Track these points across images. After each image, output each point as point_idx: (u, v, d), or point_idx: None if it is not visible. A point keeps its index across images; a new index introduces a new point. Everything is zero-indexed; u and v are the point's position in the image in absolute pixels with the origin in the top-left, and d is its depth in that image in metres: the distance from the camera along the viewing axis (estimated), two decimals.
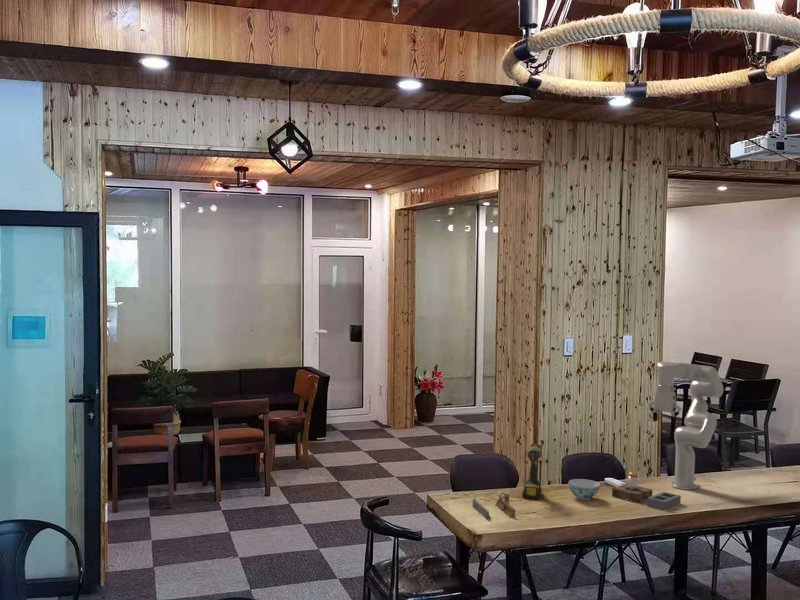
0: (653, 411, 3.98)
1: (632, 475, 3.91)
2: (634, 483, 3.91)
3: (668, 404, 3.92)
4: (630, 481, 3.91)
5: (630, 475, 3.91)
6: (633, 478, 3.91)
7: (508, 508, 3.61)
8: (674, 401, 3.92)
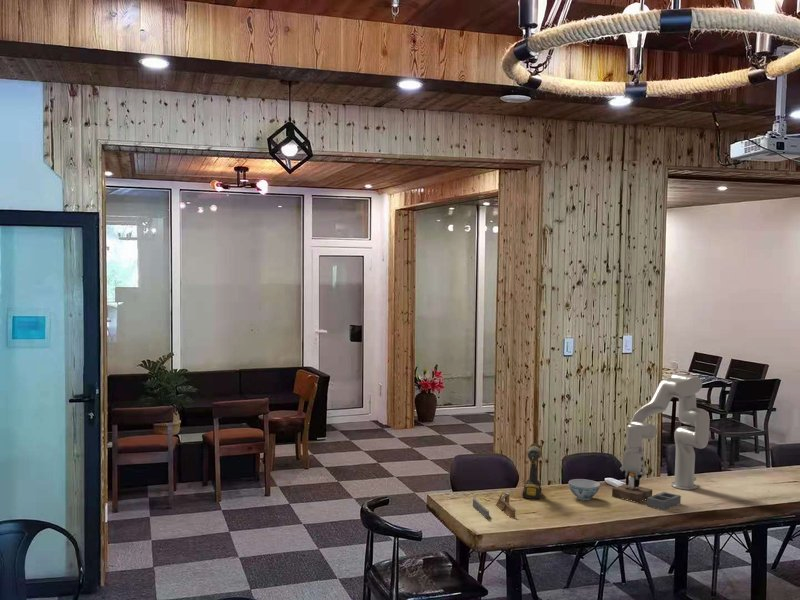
0: (625, 474, 3.94)
1: (632, 475, 3.91)
2: (634, 483, 3.91)
3: (636, 465, 3.89)
4: (630, 481, 3.91)
5: (630, 475, 3.91)
6: (633, 478, 3.91)
7: (508, 508, 3.61)
8: (642, 462, 3.89)
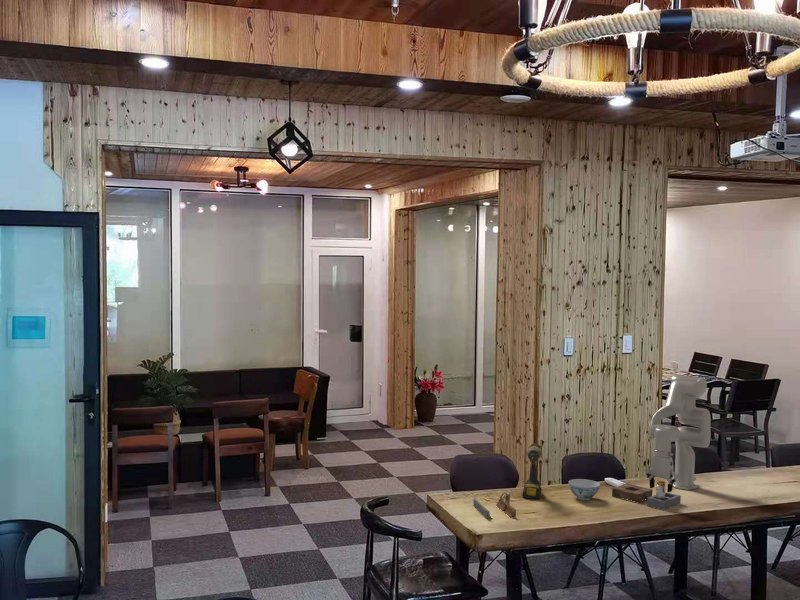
0: (650, 477, 3.80)
1: (660, 484, 3.76)
2: (662, 492, 3.76)
3: (665, 470, 3.74)
4: (658, 490, 3.77)
5: (658, 484, 3.77)
6: (661, 487, 3.76)
7: (509, 508, 3.60)
8: (671, 467, 3.74)
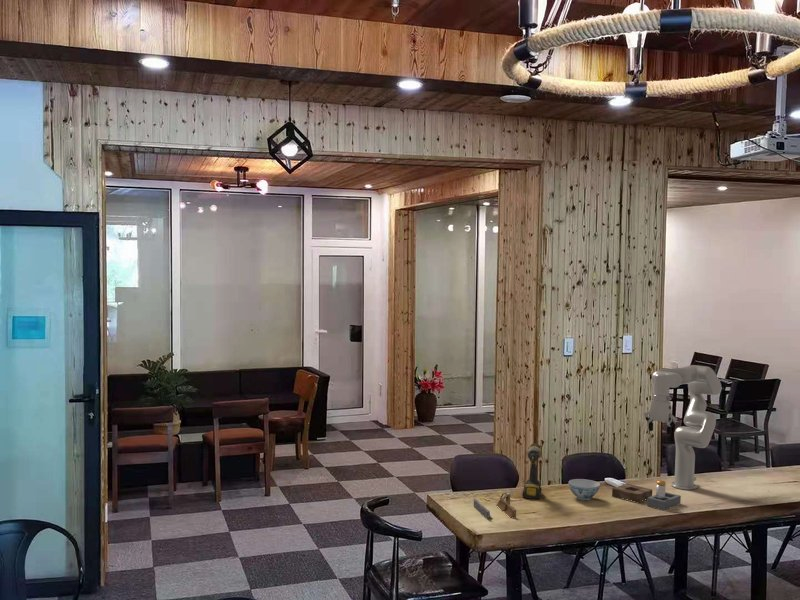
0: (649, 421, 3.96)
1: (660, 484, 3.76)
2: (662, 492, 3.76)
3: (664, 414, 3.89)
4: (658, 490, 3.77)
5: (658, 484, 3.77)
6: (661, 487, 3.76)
7: (509, 508, 3.60)
8: (670, 411, 3.89)
